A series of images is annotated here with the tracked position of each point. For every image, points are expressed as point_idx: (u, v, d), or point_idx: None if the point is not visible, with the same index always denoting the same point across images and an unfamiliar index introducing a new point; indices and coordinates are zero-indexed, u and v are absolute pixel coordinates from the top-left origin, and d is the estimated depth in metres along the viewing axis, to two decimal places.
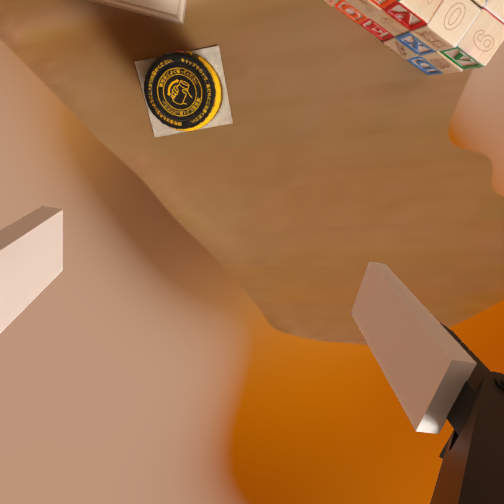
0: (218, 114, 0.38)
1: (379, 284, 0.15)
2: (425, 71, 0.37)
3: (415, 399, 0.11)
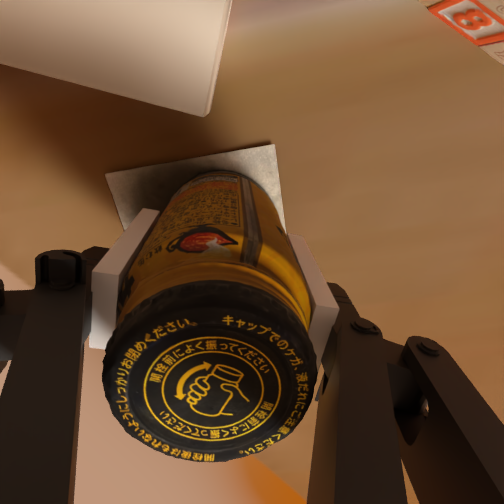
0: None
1: None
2: None
3: None
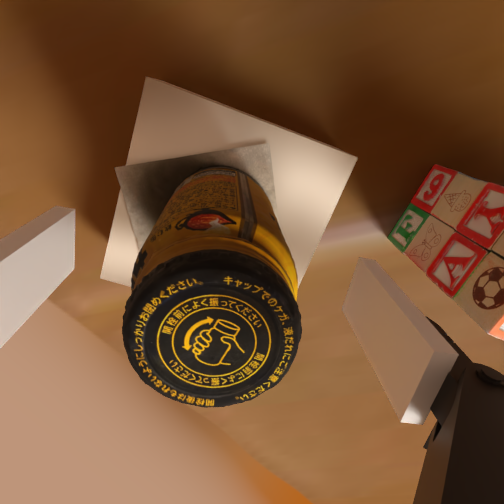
0: None
1: (368, 280, 0.15)
2: None
3: (400, 391, 0.11)
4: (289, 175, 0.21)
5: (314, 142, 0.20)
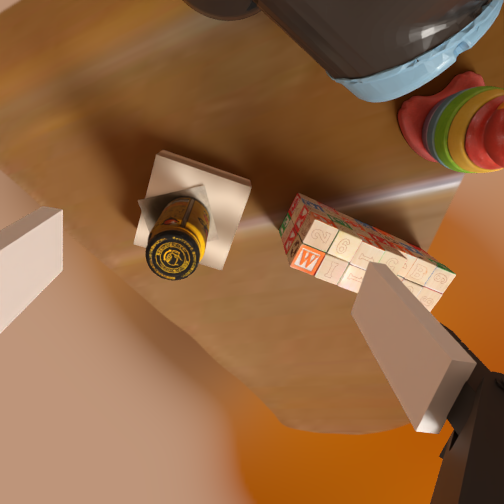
0: (207, 233, 0.47)
1: (379, 284, 0.15)
2: None
3: (415, 399, 0.11)
4: (221, 195, 0.45)
5: (231, 181, 0.44)
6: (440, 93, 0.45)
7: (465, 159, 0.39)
